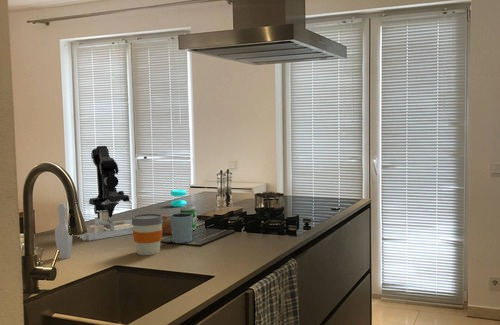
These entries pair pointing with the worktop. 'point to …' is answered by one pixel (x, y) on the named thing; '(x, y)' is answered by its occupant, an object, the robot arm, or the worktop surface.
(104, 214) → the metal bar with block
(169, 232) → the tin
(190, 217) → the blue-grey cup
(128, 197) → the robot arm
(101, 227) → the beige block
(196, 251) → the worktop surface
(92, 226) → the salmon pink block
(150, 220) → the reusable coffee cup
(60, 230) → the faceted bottle
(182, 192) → the pair of cyan domes
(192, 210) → the soda can
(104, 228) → the board
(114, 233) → the rails
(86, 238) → the box
